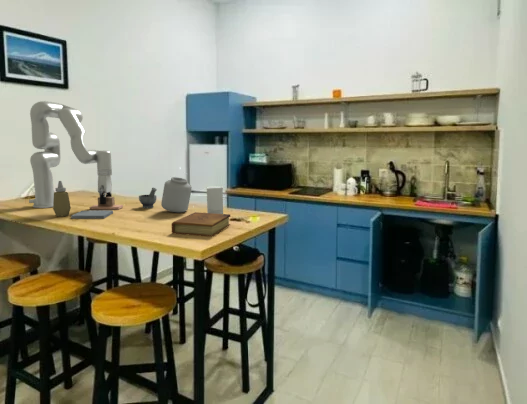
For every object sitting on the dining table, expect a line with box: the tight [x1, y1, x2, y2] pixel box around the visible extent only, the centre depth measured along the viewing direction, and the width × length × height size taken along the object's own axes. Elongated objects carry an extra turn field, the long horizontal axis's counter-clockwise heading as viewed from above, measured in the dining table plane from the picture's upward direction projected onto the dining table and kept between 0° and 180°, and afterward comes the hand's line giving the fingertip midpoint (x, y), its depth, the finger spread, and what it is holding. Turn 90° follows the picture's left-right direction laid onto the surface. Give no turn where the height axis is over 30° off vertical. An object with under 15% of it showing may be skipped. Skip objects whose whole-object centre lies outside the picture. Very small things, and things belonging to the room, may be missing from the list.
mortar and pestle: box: [138, 187, 158, 209], centre depth 227 cm, size 11×9×12 cm
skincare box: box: [206, 185, 224, 214], centre depth 204 cm, size 8×7×16 cm
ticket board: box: [70, 209, 114, 220], centre depth 201 cm, size 16×14×2 cm
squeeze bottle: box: [52, 180, 72, 217], centre depth 200 cm, size 8×8×18 cm
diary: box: [171, 211, 231, 237], centre depth 176 cm, size 23×19×6 cm
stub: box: [89, 196, 124, 210], centre depth 222 cm, size 16×8×6 cm, turn 94°
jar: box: [160, 167, 194, 214], centre depth 214 cm, size 19×15×25 cm
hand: (106, 202), depth 222 cm, fingers open, 9 cm apart
